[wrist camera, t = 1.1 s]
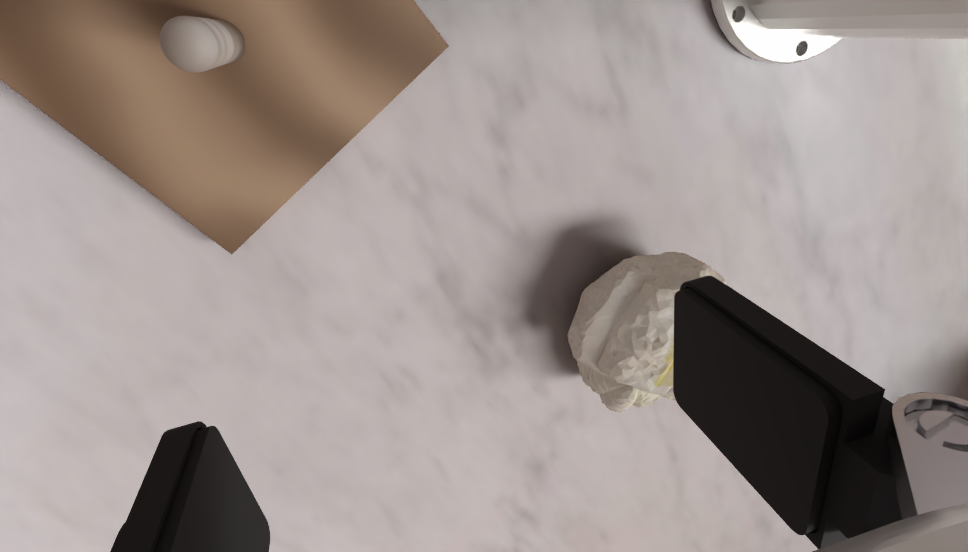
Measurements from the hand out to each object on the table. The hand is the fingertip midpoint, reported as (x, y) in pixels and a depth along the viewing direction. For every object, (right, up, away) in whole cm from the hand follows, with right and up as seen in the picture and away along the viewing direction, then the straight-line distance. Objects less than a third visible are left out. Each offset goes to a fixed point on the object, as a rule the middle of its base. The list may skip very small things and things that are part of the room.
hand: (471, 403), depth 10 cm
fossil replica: (+10, 0, +29) cm, 30 cm away
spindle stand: (-12, +14, +15) cm, 24 cm away
